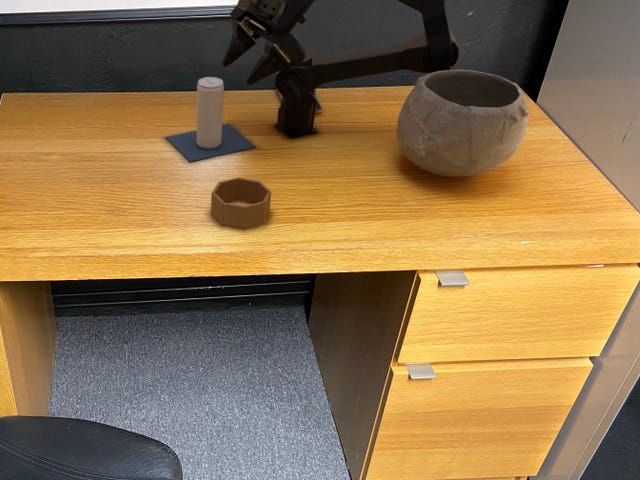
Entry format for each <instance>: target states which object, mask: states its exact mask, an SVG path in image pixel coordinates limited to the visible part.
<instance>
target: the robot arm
mask: <svg viewBox="0 0 640 480" xmlns="http://www.w3.org/2000/svg"><path fill="white" fill-rule="evenodd" d="M397 1H398V2H399V3H402V4H403V5H405V6H408V7H409V8H411V9H413V10H415V11H417V12H419V13H421V15H422V17H421V18H422V22H423V28H424V32H421V33H418V34H416V35H414V36H413V37H411V38H409V39H408V40H405V41H404V42H401V43H396V44H395V43H394V44H391V45H390V44H389V45H384V46H379V47H372V48H368V49H367V48H366V49H362V50H356V51H349V52H345V53H339V54H334V55H329V56H320V55H315V54H314V48H313V47H308V48H304V47H303V46H302V44H301V43H300V42H299V40H298V39H297V38H296V37H295V36H294V35H293V33H291V32H292V30H293V29H294V28H295V27H296V26H297V24H300V25H303V24H304V23H305V22H306V21H307V19H306V17H305V16H304V15H305V14H307V12H308V10H309V9H310V8H311V7H312V5H314V3H315V2H316V0H238V1H237V3H236V5H235V6H234V7H233V9H232V10H231V11H230V13H229V17H231V18H230V23H231V26H232V27H231V28H232V35H231V37H230V41H229V44H228V46H227V48H226V51H225V53H224V55H223V58H222V61H221V65H222V66H223V67H224V68H227V67H229V66H230V65H231V64H233V63H234V62H236V61H237V60H238V59H239V58H241V57H242V56H243V55H245V53H246V52H248V51H249V50H250V49H252V48H253V47H254V46H255V45H257V42H256V40H258V39H260V38H263V39H264V40H265V41H264V50H263V54H262V55H261V56H260V58H259V59H258V61H257V62H256V64H255V65H254V66H253V68H252V69H251V71H250V72H249V74H248V75H247V77H246V79H245V83H246V84H247V85H248V86H251V85H253V84H254V83H255V84H256V83H257V82H259V81H261V80H263V79H266V78H267V77H269V76H271V75H275V79H274V82H275V83H274V86H275V89H277V90H278V92H279V93H281V94H282V95H283V97H284V98H281V99H280V105H279V107H278V111H277V120H276V121H277V122H275V123H274V124H273V127H274V128H276V129H277V130H278V131H279V132H281V133H282V134H283V135H284V136H286V137H287V138H289V139H296V138H300V137H305V136H308V135H314V134H317V133H318V130H319V129H317V128H316V127H315V125H314V124H315V118H316V113H315V111H316V104H317V100H318V98H317V97H316V98H317V99H316V98H315V96H316V91H317V89H318V88H319V87H321V86H322V85H324V84H327V83H328V84H329V83H333V82H339V81H345V80H346V81H347V80H351V79H356V78H363V77H369V76H375V75H382V74H387V73H388V74H389V73H393V72H398V71H408V72H414V73H419V74H431V73H433V72H436V71H443V70H452V68H453V67H454V66H455V65H456V64H457V61H459V56H460V50H459V49H460V48H459V45H458V42H457V40H456V37H455V35H454V34H453V31H451V30H450V29H449V23H448V18H447V13H446V8H445V5H446V0H397ZM277 90H276V91H277ZM278 92H277V93H278Z"/></svg>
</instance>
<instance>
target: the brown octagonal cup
mask: <svg viewBox="0 0 640 480" xmlns="http://www.w3.org/2000/svg"><path fill="white" fill-rule="evenodd" d="M271 199H272V191H271V190H270V189H269V188H268V187H267V186H266V185H265V184H264V183H263V182H262V181H260V180H256V179H250V178H244V177H233V178H230V179H225V180H222V181H218V182H217V183H216V186H215V187H214V188H213V190H212V191H211V199H210V200H211V202H210V215H211V216H212V217H213V218H214V219H215V220H216V221H217V222H218V223H219V224H220V225H221V226H223V227H228V228H229V227H230V228H234V229H238V230H246V229H250V228H254V227H258V226H262V225H264V224H265V222H266V220H267V218H268V216H269V214H270V211H271V210H270V209H271ZM235 201H241V202H246V203H251V204H247V205H241V204H235V203H231V202H235Z"/></svg>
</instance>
